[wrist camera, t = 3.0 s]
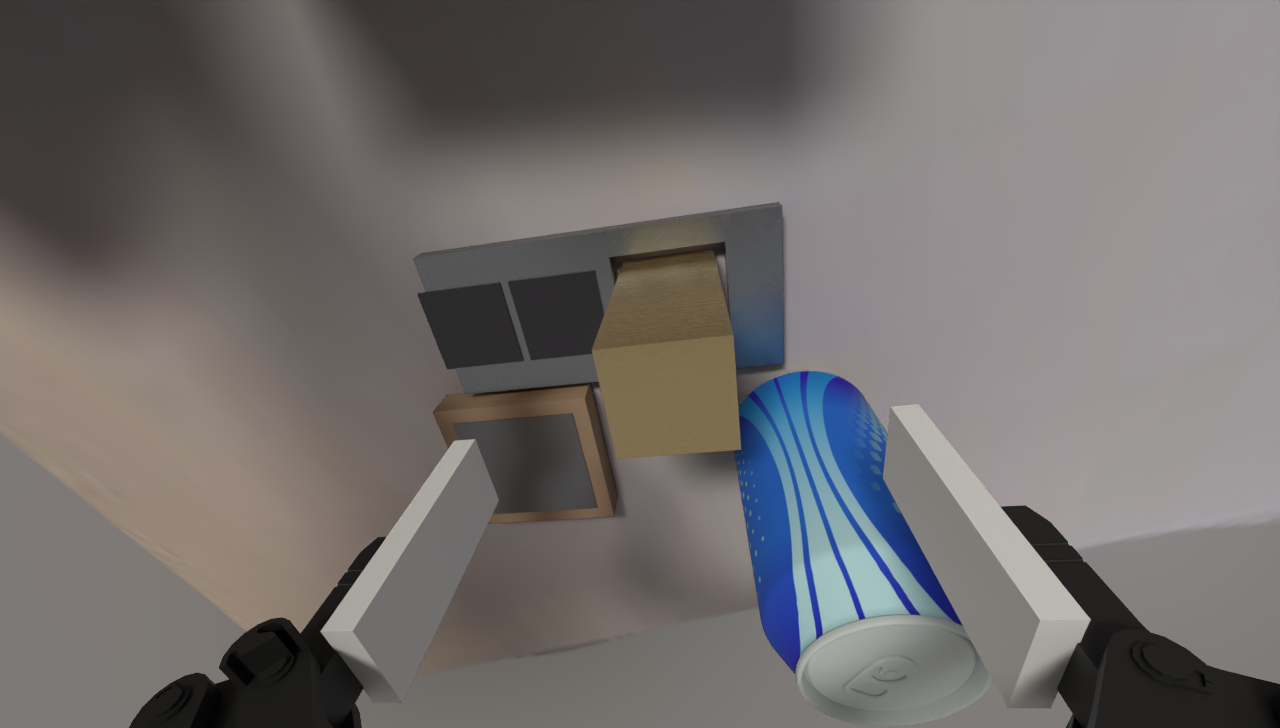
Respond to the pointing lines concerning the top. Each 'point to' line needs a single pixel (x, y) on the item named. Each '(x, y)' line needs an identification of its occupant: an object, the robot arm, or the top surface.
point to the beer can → (845, 561)
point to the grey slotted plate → (588, 296)
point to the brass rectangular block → (668, 359)
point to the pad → (536, 450)
